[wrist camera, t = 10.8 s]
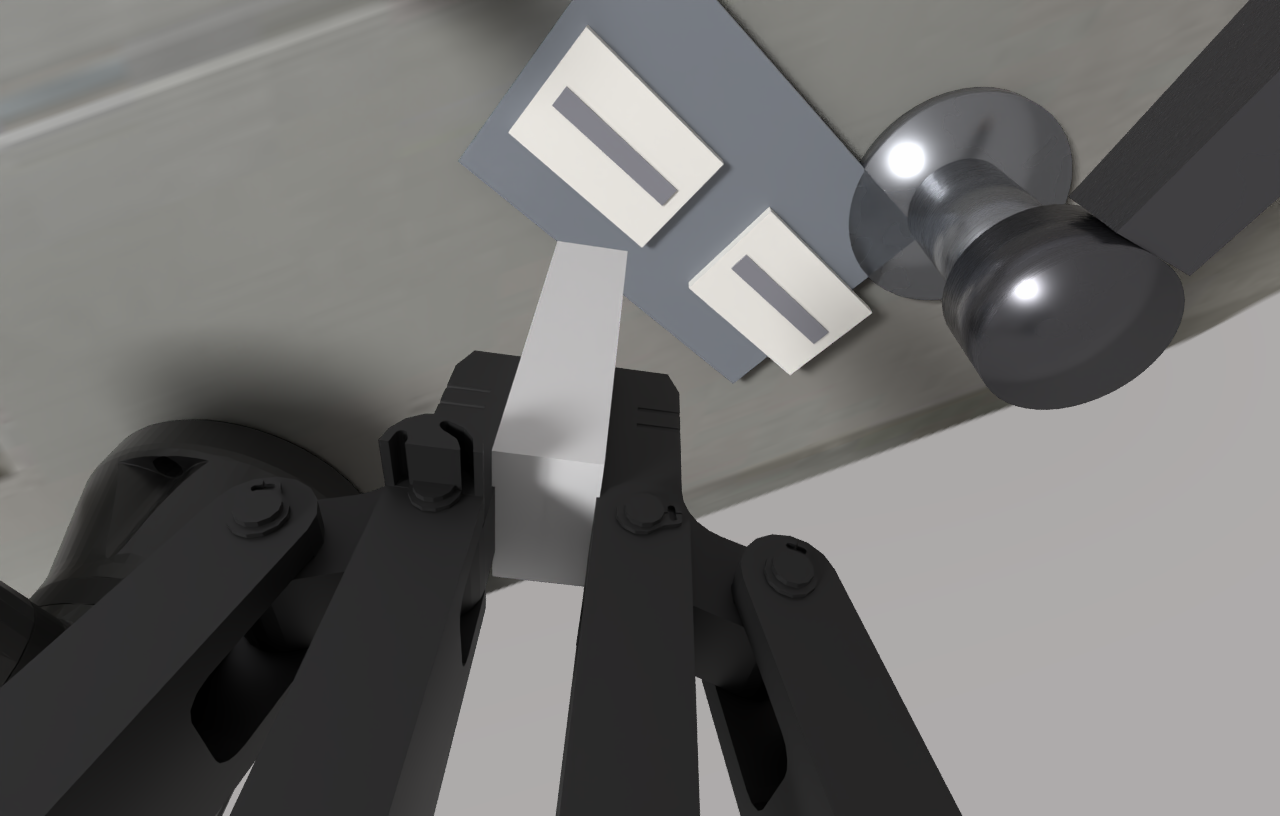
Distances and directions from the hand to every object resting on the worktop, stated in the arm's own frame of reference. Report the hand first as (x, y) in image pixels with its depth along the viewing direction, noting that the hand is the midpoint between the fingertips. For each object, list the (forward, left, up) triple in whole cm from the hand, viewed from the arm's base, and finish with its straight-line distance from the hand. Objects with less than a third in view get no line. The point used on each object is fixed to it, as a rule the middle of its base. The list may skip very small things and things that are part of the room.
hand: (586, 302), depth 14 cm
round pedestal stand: (+7, -11, -12) cm, 18 cm away
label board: (0, -4, -12) cm, 13 cm away
